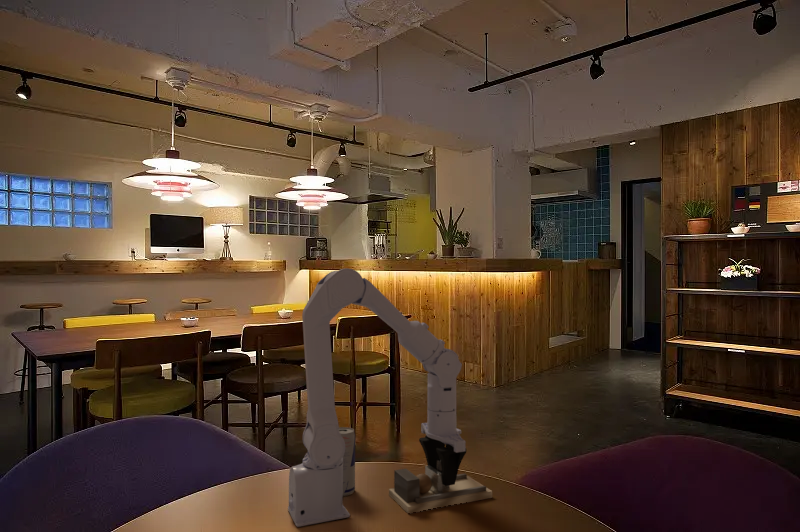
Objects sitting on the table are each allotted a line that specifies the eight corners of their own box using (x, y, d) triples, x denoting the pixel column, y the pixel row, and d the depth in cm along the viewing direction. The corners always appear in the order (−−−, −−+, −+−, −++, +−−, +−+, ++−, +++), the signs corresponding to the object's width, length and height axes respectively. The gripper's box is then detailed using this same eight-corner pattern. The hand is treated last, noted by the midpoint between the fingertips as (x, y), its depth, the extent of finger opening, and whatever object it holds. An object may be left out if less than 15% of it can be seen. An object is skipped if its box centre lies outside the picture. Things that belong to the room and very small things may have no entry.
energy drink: (357, 487, 100) (357, 427, 101) (352, 497, 95) (352, 434, 96) (331, 486, 101) (332, 426, 102) (324, 496, 96) (325, 433, 96)
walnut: (418, 498, 92) (418, 478, 92) (410, 491, 95) (410, 472, 95) (435, 495, 93) (435, 475, 94) (426, 488, 97) (426, 469, 97)
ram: (437, 495, 93) (437, 465, 93) (425, 485, 97) (425, 457, 98) (453, 492, 94) (453, 463, 94) (440, 482, 99) (440, 455, 99)
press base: (408, 513, 88) (408, 484, 88) (388, 495, 96) (389, 468, 97) (492, 497, 95) (492, 470, 96) (467, 481, 103) (467, 456, 104)
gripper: (479, 414, 92) (479, 489, 91) (442, 399, 105) (442, 464, 104) (446, 418, 89) (446, 495, 88) (412, 402, 102) (412, 469, 101)
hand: (442, 479), depth 96 cm, fingers open, 5 cm apart
